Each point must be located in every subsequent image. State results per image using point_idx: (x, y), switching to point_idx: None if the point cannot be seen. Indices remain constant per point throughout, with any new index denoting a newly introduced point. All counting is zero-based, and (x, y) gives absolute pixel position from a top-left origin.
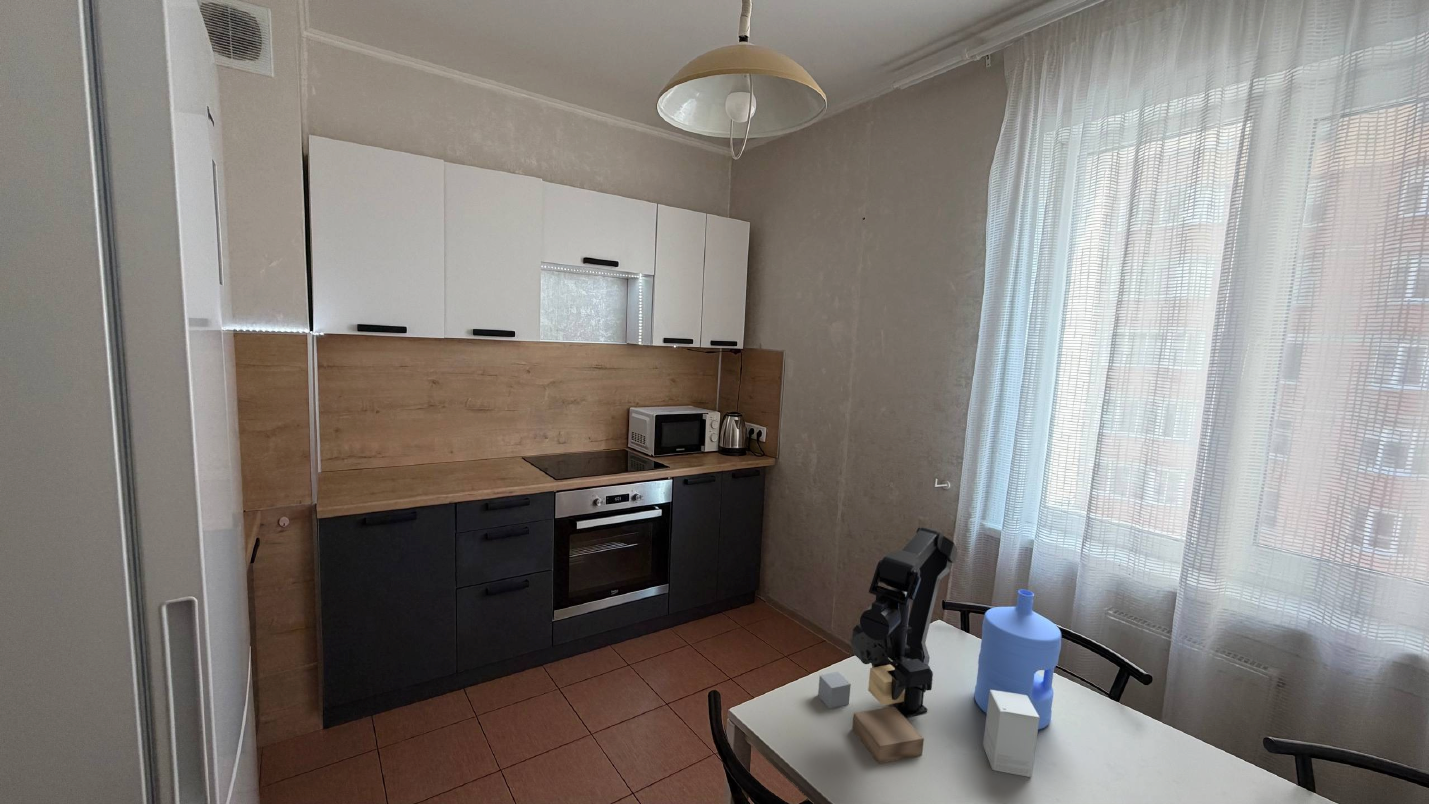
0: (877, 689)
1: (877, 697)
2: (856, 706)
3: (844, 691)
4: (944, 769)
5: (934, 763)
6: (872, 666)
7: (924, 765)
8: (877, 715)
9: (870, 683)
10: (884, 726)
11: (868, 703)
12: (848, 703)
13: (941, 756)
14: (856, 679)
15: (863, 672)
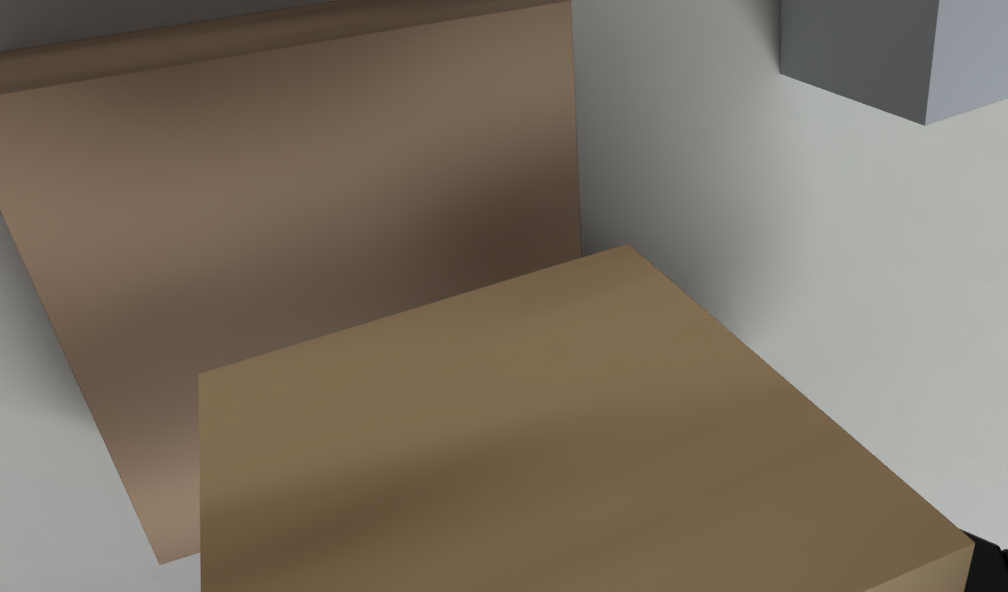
0: (444, 429)
1: (383, 346)
2: (742, 130)
3: (879, 40)
4: (5, 566)
5: (69, 517)
6: (1003, 563)
7: (32, 446)
8: (497, 250)
9: (669, 337)
10: (329, 267)
11: (746, 238)
12: (786, 71)
13: (157, 573)
14: (971, 234)
15: (1002, 302)
